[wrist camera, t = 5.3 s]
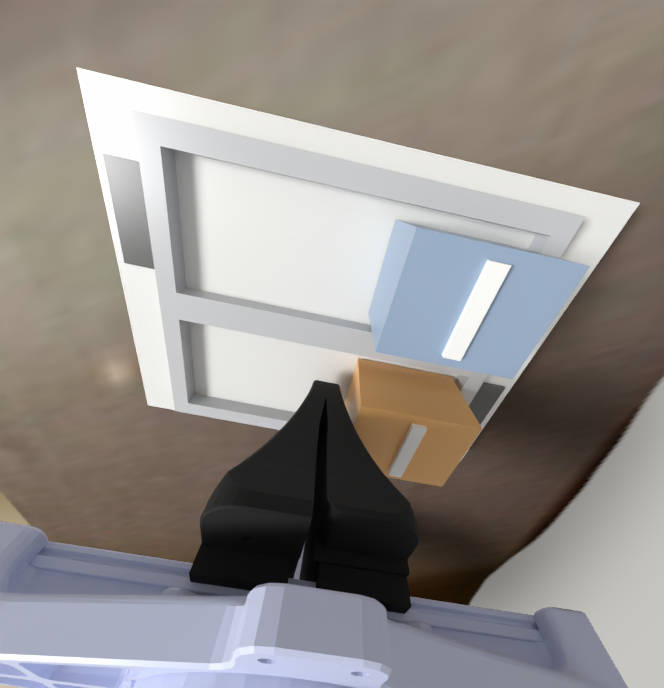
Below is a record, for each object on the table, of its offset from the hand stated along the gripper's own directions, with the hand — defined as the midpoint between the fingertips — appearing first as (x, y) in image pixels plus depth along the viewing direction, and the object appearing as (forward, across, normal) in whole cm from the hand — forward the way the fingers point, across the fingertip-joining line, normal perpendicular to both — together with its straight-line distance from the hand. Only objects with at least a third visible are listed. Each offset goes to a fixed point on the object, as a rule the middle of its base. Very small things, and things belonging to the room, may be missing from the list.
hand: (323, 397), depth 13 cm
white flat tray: (+2, 0, -3) cm, 4 cm away
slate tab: (+1, -4, -6) cm, 8 cm away
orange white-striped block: (+1, -4, 0) cm, 4 cm away
